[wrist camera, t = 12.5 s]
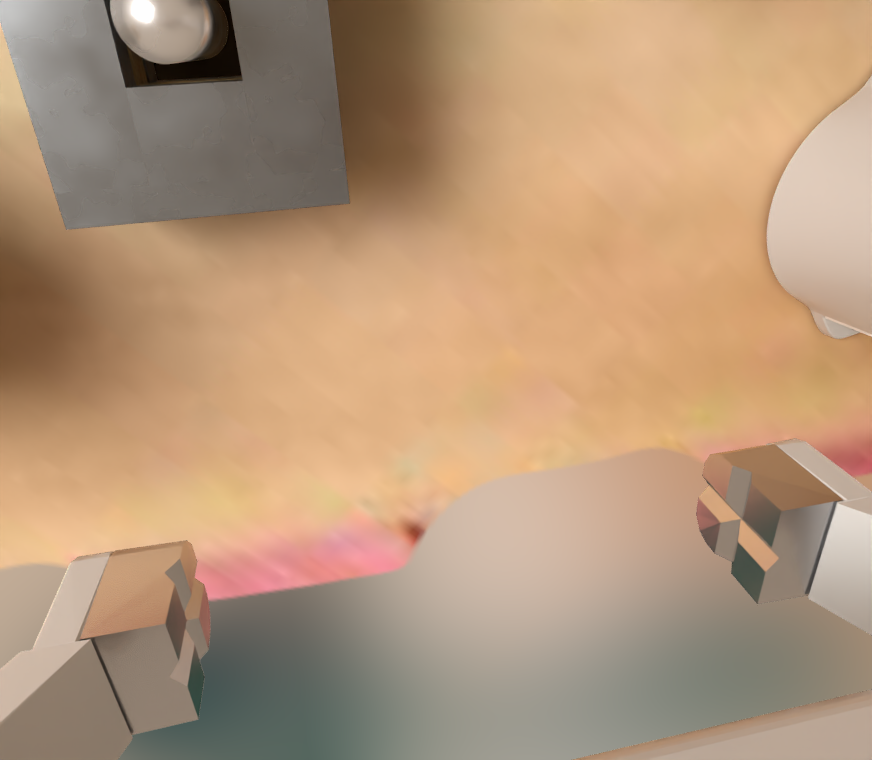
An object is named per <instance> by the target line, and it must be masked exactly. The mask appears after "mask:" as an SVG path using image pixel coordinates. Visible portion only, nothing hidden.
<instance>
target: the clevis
mask: <svg viewBox="0 0 872 760" xmlns="http://www.w3.org/2000/svg"><path fill="white" fill-rule="evenodd" d="M229 3H230V9H231V15H232V21H233V27H234V32H235V38H236V44H237V50H238V56H239V62H240V67H241V73H242V75H240V76H223V77H206V78H190V79H173V80H157V76H156V71H155V67H154V62H151V61H149V60H146V59H144V58H143V57H141V56H139V55H138V54H136V53H135V52H134V51H132V50H131V49H130V48H129V47H128V46H127V45H126V44H125V42H124V41H123V40H122V38H121V37H120V35H119V34H118V32H117V30H116V28H115V25H114V23H113V20H112V16H111V10H110V0H0V23H1V27H2V30H3V33H4V36H5V39H6V42H7V45H8V49H9V52H10V55H11V58H12V61H13V64H14V67H15V70H16V74H17V77H18V80H19V83H20V86H21V89H22V92H23V96H24V99H25V102H26V105H27V108H28V111H29V114H30V118H31V121H32V124H33V127H34V130H35V133H36V136H37V140H38V143H39V146H40V149H41V152H42V155H43V158H44V162H45V165H46V168H47V171H48V174H49V177H50V180H51V183H52V187H53V190H54V193H55V196H56V199H57V202H58V205H59V209H60V212H61V215H62V218H63V221H64V224H65V227H66V230H67V229H78V228H89V227H100V226H111V225H122V224H133V223H144V222H154V221H165V220H176V219H187V218H198V217H209V216H220V215H231V214H241V213H252V212H263V211H274V210H285V209H296V208H307V207H318V206H328V205H339V204H350V201H349V192H348V183H347V174H346V165H345V155H344V146H343V137H342V128H341V119H340V110H339V100H338V91H337V82H336V73H335V64H334V55H333V46H332V36H331V27H330V18H329V9H328V0H229Z"/></svg>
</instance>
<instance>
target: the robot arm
mask: <svg viewBox="0 0 872 760" xmlns="http://www.w3.org/2000/svg"><path fill="white" fill-rule="evenodd" d="M767 249H768V255H769V260H770V264H771V267H772V269H773V272H774V274H775V276H776V278H777V280H778V281H779V283H780V284H781V285H782V287H783V288H784V289H785V290H786V291H787V292H788V293H789V294H790V295H792V296H793V297H795V298H796V299H798V300H799V301H800V302H802V303H803V304H805V305H806V306H807V307H808V308H809V309H810V310H811V313H812V316H813V318H814V320H815V323H816V325H817V327H818V328H819V330H820V331H821V332H822V333H823V334H825V335H827V336H830V337H833V338H835V339H842V338H846V337H849V336H852V335H855V334H858V333H863V334H866V335H868V336H871V337H872V75H871V77H870V78H869V80H868V81H867V82H866V84H865V85H864V86H863V87H862V88H861V89H860V90H859V91H858V92H857V93H856V94H855V95H854V96H852V97H851V98H850V99H849V100H847V101H846V102H845V103H843V104H842V105H841V106H839V107H838V108H837V109H835V110H834V111H833V112H832V113H830V114H829V115H828V116H827V117H826V118H825V119H824V120H823V121H821V122H820V123H819V124H818V125H817V126H816V128H815V129H814V130H813V131H812V132H811V133H810V134H809V135H808V136H807V138H806V139H805V140H804V141H803V143H802V144H801V145H800V147H799V148H798V149H797V151H796V152H795V154H794V155H793V157H792V159H791V160H790V162H789V164H788V165H787V167H786V169H785V171H784V173H783V175H782V177H781V179H780V181H779V184H778V186H777V189H776V191H775V194H774V197H773V201H772V204H771V208H770V213H769V218H768V226H767ZM702 476H703V477H704V479H705V480H706V481H707V483H708V484H709V485H708V487H707V488H706V489H705V490H704V492H703V493H702V494H701V495H700V496H699V498H698V504H697V512H696V516H697V520H698V524H699V529H700V532H701V534H702V536H703V538H704V540H705V542H706V543H707V545H708V546H709V547H710V548H711V550H712V551H713V552H714V553H715V554H717V555H719V556H721V557H723V558H725V559H727V560H729V561H731V562H732V568H731V574H732V575H733V576H734V577H735V578H736V579H737V581H738V582H739V583H740V584H741V585H742V587H743V588H744V589H745V590H746V591H747V592H748V594H749V595H750V596H751V597H752V598H753V600H754V601H755V602H756V603H757V604H762V603H768V602H774V601H779V600H785V599H791V598H797V597H803V596H808V595H809V596H808V598H809V599H810V600H812V601H814V602H815V603H817V604H819V605H821V606H822V607H824V608H826V609H827V610H829V611H831V612H832V613H834V614H836V615H838V616H839V617H841V618H843V619H844V620H846V621H848V622H850V623H851V624H853V625H855V626H857V627H858V628H860V629H862V630H863V631H865V632H867V633H868V634H870V635H872V492H871V491H870V490H869V489H868V488H866V487H865V486H863V485H862V484H861V483H859V482H858V481H857V480H856V479H854V478H853V477H852V476H850V475H849V474H848V473H846V472H845V471H844V470H842V469H841V468H840V467H838V466H837V465H836V464H834V463H833V462H832V461H830V460H829V459H828V458H827V457H825V456H824V455H823V454H821V453H820V452H819V451H817V450H816V449H815V448H813V447H812V446H811V445H809V444H808V443H807V442H805V441H802V440H798V439H790V440H785V441H780V442H774V443H769V444H766V445H763V446H757V447H751V448H745V449H739V450H734V451H728V452H722V453H716V454H710V456H709V457H708V459H707V460H706V462H705V464H704V469H703V475H702ZM196 566H197V559H196V556H195V553H194V550H193V547H192V544H191V543H190V542H188V541H187V540H186V541H179V542H172V543H165V544H158V545H151V546H144V547H137V548H130V549H123V550H116V551H115V552H105V553H99V554H92V555H86V556H79V557H77V558H76V559H75V560H73V561H72V562H71V563H70V564H69V567H68V569H67V571H66V574H65V576H64V578H63V580H62V583H61V585H60V587H59V589H58V592H57V594H56V596H55V599H54V601H53V603H52V605H51V608H50V610H49V612H48V615H47V617H46V619H45V622H44V624H43V626H42V629H41V631H40V633H39V635H38V637H37V640H36V642H35V644H34V647H33V649H32V650H28V651H23V652H20V653H18V654H17V655H16V656H15V657H14V658H13V659H11V660H10V661H9V662H8V663H7V664H6V665H4V666H3V667H2V668H1V669H0V760H118V759H119V757H120V756H121V754H122V753H123V752H124V750H125V749H126V747H127V746H128V745H129V743H130V742H131V740H132V739H133V738H132V735H134V734H138V733H142V732H147V731H151V730H155V729H160V728H164V727H168V726H173V725H177V724H180V723H185V722H190V721H194V720H198V719H199V713H200V706H201V698H202V692H203V685H204V678H205V676H204V673H203V670H202V667H201V663H200V659H201V658H202V657H203V656H204V654H205V653H206V652H207V651H208V649H209V641H210V609H209V602H208V597H207V593H206V589H205V586H204V584H203V583H201V582H200V581H198V580H197V579H195V572H196ZM573 760H872V689H871V690H866V691H862V692H858V693H854V694H849V695H845V696H841V697H836V698H832V699H828V700H824V701H819V702H815V703H811V704H807V705H803V706H798V707H794V708H790V709H785V710H781V711H777V712H773V713H769V714H764V715H760V716H756V717H751V718H747V719H743V720H739V721H735V722H730V723H726V724H722V725H717V726H713V727H709V728H705V729H701V730H696V731H692V732H688V733H684V734H679V735H675V736H671V737H666V738H662V739H658V740H654V741H649V742H645V743H641V744H637V745H633V746H629V747H624V748H620V749H616V750H612V751H608V752H603V753H599V754H594V755H590V756H586V757H582V758H577V759H573Z"/></svg>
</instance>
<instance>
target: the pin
mask: <svg viewBox="0 0 872 760" xmlns="http://www.w3.org/2000/svg"><path fill="white" fill-rule="evenodd" d="M110 10H111V16H112V20H113V23H114V25H115V28H116V30H117V32H118V34H119V35H120V37H121V38H122V40H123V41H124V42H125V44H126V45H127V46H128V47H129V48H130V49H131V50H132V51H134V52H135V53H136V54H138V55H139V56H141V57H143V58H144V59H146V60H149V61H151V62H155V63H160V64H173V63H180V62H188V61H196V60H204V59H209V58H212V57H214V56H215V55H217V54H218V53H219V52H220V51H221V50H222V49H223V47H224V46H225V44H226V41H227V38H228V22H227V18H226V15H225V13H224V11H223V9H222V7H221V6H220V4H219V3H218V2H217V1H216V0H110Z"/></svg>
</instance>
